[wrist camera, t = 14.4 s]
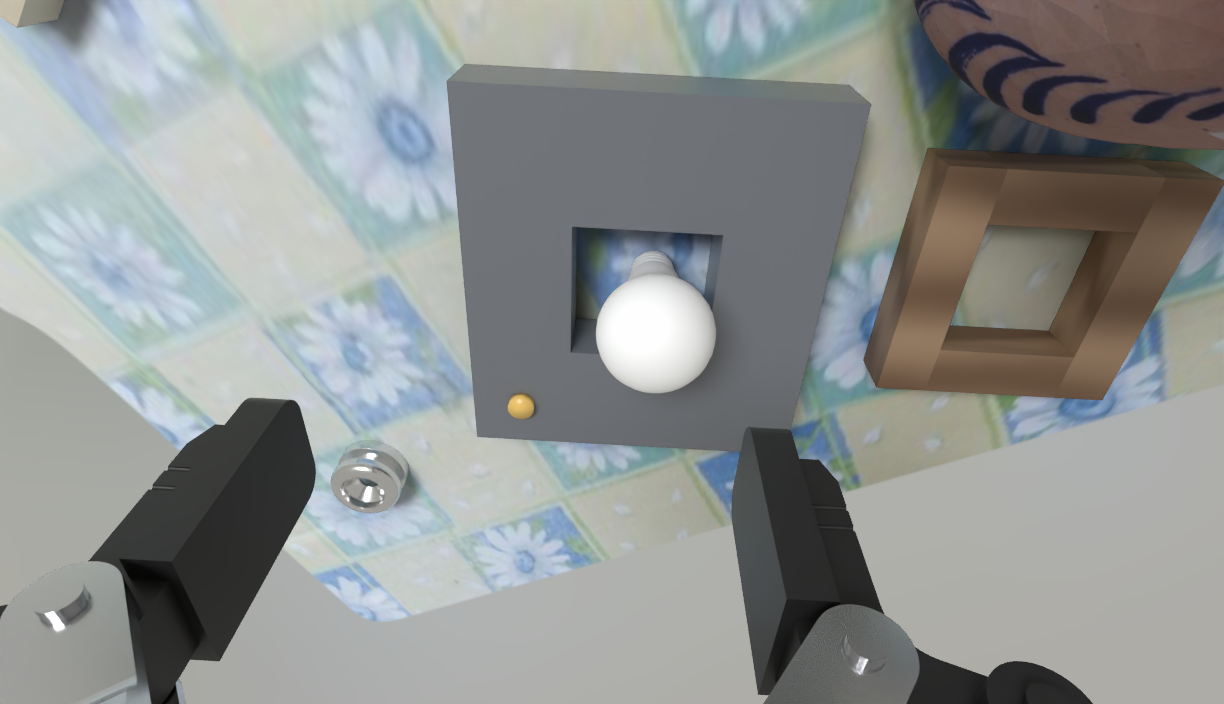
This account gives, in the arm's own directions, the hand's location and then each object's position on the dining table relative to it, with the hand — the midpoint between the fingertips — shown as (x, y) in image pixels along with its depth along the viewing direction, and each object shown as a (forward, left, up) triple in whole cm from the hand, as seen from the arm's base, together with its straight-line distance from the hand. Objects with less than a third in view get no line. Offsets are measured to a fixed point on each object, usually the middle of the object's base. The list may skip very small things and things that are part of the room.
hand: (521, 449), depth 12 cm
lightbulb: (+10, +4, -28) cm, 30 cm away
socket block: (+10, +3, -28) cm, 30 cm away
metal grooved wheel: (+28, -16, -28) cm, 43 cm away
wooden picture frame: (+9, +25, -28) cm, 39 cm away
